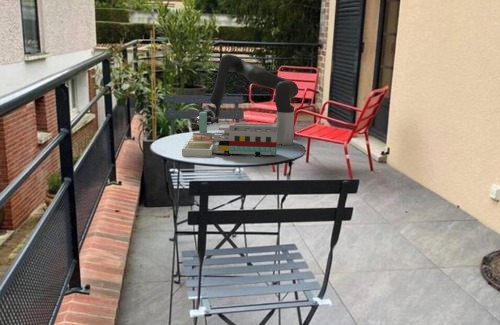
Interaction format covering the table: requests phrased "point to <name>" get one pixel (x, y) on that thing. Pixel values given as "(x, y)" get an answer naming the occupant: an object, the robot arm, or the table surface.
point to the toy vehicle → (247, 139)
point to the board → (200, 143)
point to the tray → (197, 151)
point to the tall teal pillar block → (202, 125)
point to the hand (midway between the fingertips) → (203, 122)
